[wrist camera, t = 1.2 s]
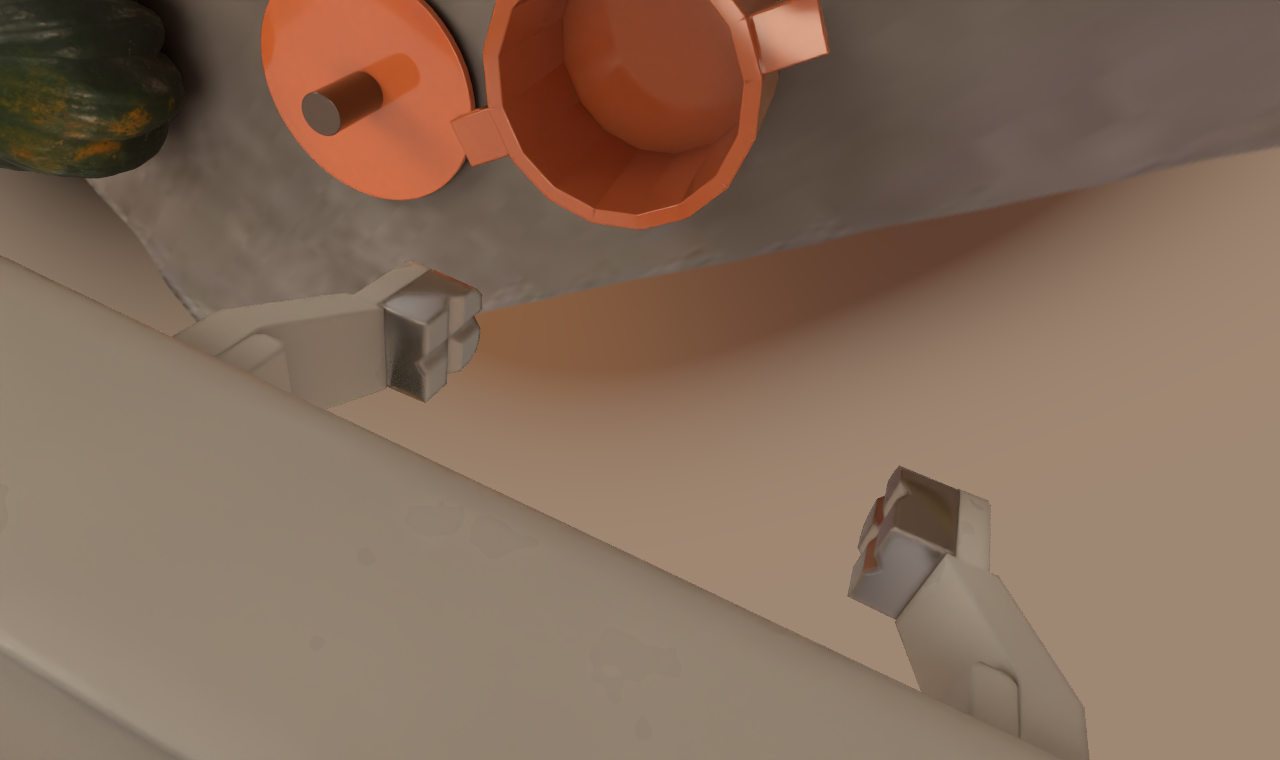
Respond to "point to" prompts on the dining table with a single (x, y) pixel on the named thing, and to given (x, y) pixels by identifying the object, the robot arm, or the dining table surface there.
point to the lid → (369, 90)
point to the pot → (634, 97)
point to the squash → (83, 86)
